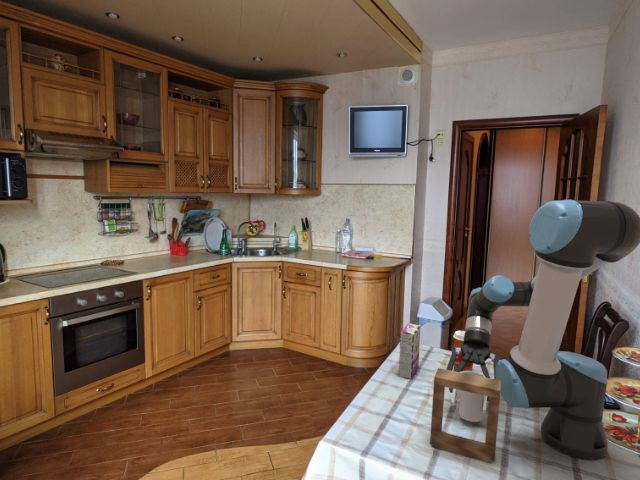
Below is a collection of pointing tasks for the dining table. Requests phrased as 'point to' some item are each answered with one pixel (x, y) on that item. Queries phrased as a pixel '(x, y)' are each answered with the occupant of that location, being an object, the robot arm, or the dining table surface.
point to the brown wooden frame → (493, 391)
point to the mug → (471, 402)
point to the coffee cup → (458, 344)
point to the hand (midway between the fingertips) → (468, 407)
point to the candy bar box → (409, 351)
